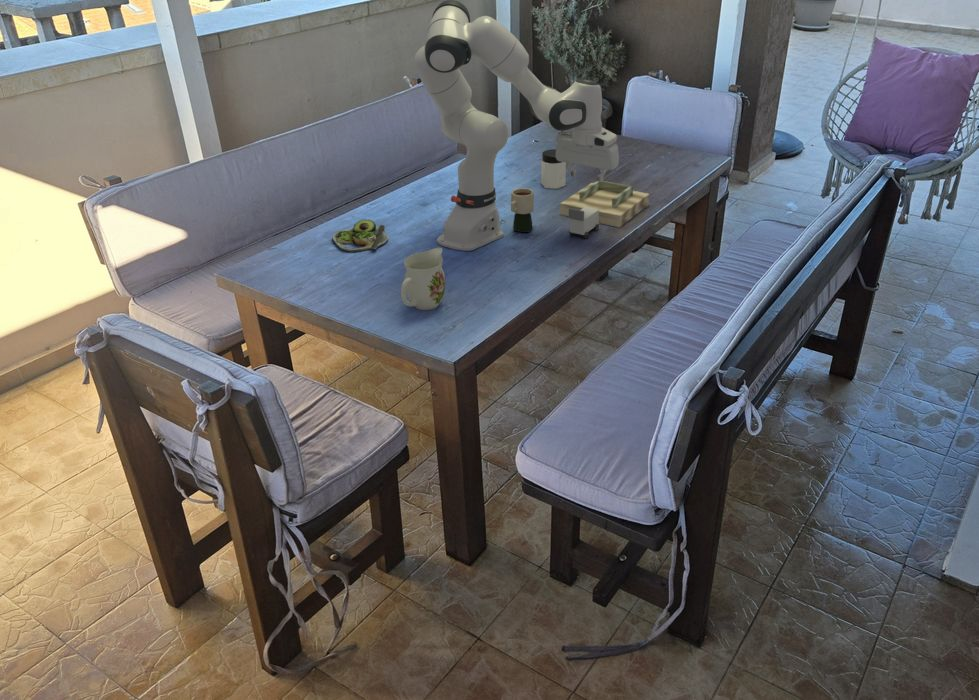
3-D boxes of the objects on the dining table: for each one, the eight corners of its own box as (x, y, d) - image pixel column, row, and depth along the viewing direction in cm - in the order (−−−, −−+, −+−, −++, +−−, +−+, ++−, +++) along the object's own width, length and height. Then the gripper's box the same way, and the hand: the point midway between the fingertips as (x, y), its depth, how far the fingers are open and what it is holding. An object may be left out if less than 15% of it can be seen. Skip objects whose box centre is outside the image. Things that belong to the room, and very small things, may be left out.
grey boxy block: (583, 240, 264) (584, 212, 259) (566, 236, 267) (567, 208, 262) (599, 228, 271) (600, 200, 266) (583, 225, 274) (584, 197, 269)
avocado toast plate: (400, 248, 264) (398, 235, 262) (344, 260, 259) (342, 246, 256) (381, 227, 280) (380, 214, 277) (329, 237, 274) (327, 223, 272)
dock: (619, 227, 272) (620, 207, 268) (560, 214, 282) (560, 194, 279) (648, 205, 287) (650, 185, 283) (591, 193, 298) (591, 174, 294)
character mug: (525, 222, 278) (524, 184, 271) (542, 227, 274) (541, 189, 267) (503, 232, 271) (502, 194, 264) (520, 238, 267) (520, 199, 260)
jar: (553, 191, 301) (553, 158, 295) (536, 185, 306) (536, 153, 300) (570, 184, 306) (570, 152, 300) (553, 179, 312) (553, 147, 305)
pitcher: (388, 315, 227) (383, 269, 220) (427, 288, 240) (424, 243, 233) (421, 325, 222) (417, 278, 215) (459, 296, 235) (457, 251, 228)
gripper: (551, 133, 256) (552, 176, 263) (612, 142, 246) (610, 187, 253) (561, 127, 260) (562, 170, 267) (622, 136, 250) (620, 180, 257)
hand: (586, 178), depth 260 cm, fingers open, 8 cm apart
